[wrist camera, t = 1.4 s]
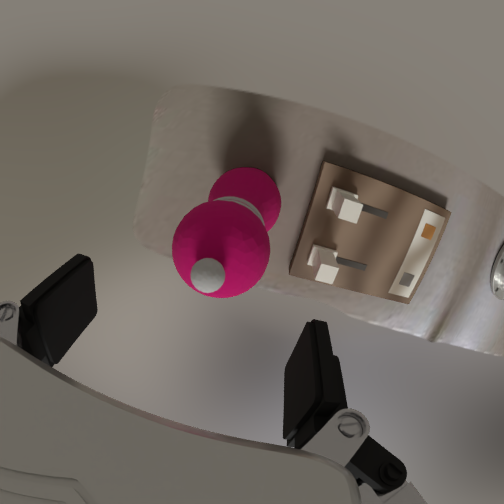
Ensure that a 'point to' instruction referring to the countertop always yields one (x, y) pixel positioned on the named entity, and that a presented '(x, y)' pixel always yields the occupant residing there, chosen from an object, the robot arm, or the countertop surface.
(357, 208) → the tab
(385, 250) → the switch board
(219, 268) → the pepper mill
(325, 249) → the tab
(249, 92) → the countertop surface
